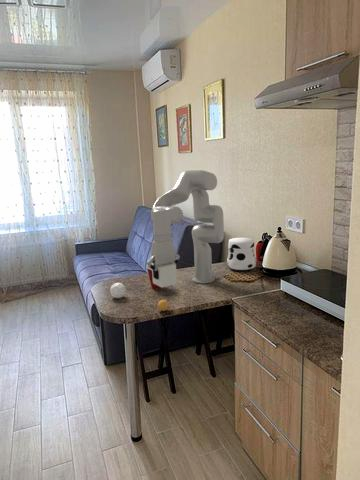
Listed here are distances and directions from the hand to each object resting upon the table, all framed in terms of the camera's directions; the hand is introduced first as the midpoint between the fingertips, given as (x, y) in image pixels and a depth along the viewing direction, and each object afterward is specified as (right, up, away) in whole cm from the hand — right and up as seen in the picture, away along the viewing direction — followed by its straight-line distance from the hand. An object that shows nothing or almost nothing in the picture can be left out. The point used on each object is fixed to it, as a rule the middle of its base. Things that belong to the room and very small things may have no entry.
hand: (164, 276), depth 162 cm
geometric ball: (-24, -13, +24) cm, 36 cm away
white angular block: (0, -3, +1) cm, 3 cm away
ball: (-1, -14, +5) cm, 15 cm away
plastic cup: (-5, -10, +36) cm, 38 cm away
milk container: (+45, -2, +63) cm, 77 cm away
